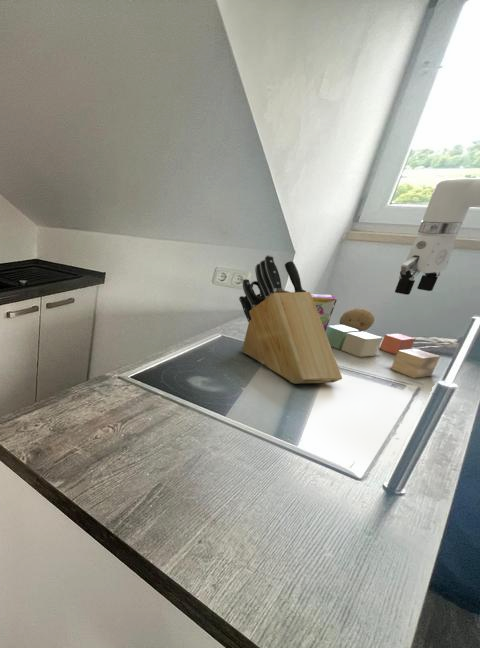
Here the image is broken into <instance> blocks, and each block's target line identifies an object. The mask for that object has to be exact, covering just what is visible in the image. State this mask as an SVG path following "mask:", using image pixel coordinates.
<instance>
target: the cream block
mask: <svg viewBox="0 0 480 648" xmlns="http://www.w3.org/2000/svg"><path fill="white" fill-rule="evenodd" d="M382 341H383V337H382V336H378V335H375V334H373V333H369V332H367V331H364V332H363V331H362V332H352V333H347V335H346V338H345V341H344V344H343V346H342V348H341V349H340V350H341V351H344V352H345V353H347V354H351V355H353V356H356V357H359V358H364V357H373V356H376V355H377V352H378V350H379V349H380V346H381V344H382Z"/></svg>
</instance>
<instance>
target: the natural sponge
mask: <svg viewBox="0 0 480 648" xmlns="http://www.w3.org/2000/svg"><path fill="white" fill-rule="evenodd" d="M374 322H375V316H374V314H373V313H372V312H371V311H370V310H368V309H366V308H363V307H356V308H352V309H349V310H347V311H345V312H344V313H343V314H342V315H341V316H340V317H339V325H345V326H348V327H351V328H354V329H357V330H360V331H359V332H362V331H363V332H367V330H368V329H370V328H371V327H372V326H373V325H374Z"/></svg>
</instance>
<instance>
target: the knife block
mask: <svg viewBox="0 0 480 648" xmlns="http://www.w3.org/2000/svg"><path fill="white" fill-rule="evenodd" d="M277 267H278V266H277V265H276V263H275V260H274V256H273V255H269V254H268V255H267V254H266V256H264V259H262V260H261V261H260V262H259V263H257V264H256V265H255V268H254V271H255V277H256V280H254V281H252V282H251V283H250V279H249V278H244V279H243V280H242V288H243V289H242V290H243V293H244V295H245V296H243V295H241V296H239V298H238V300H239V302H240V304H241V307H242V310H243V313H244V316H245V317H246V320H247V322H248V324H247V328H246V332H245V337H244V340H243V346H242V348H241V352H242V353H244V354H245V355H247V356H249V357H250V358H252V359H254V360H256V361H257V362H259V363H260V364H263V365H265V367H267V368H268V369H270V370H271V371H273V372H275V373H276V374H278V375H280V376H281V377H282V378H285V379H286V380H287V381H289V382H290V383H292V384H296V385H297V384H331V383H336V382H338V381H340V380H342V379H343V376H342V373H341V371H340V368H339V365H338V362H337V360H336V357H335V354H334V352H333V349H332V346H330V343H329V340H328V338H327V335H326V332H325V330H324V327H323V324H322V322H321V319H320V317H319V314H318V311H317V309H316V306H315V303H314V301H313V298H312V296H311V294H312V293H311V292H310V291H307V290H304V289H303V288H302V281H301V277H300V274H299V271H298V268H297V266H296V264H295V262H294V261H293V260H292V261H291V260H290V261H287V262H285V264H284V269H285V271H286V272H287V274H288V277H289V280H290V282H291V284H292V286H293V288H294V291H288V290H285V289H284V288H283V287H282V280H281V275H280V272H279V270H278V268H277ZM254 285H255V286H257V288H258V290H259V293H258V294H256V293H255V290H254Z"/></svg>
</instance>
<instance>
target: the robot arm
mask: <svg viewBox="0 0 480 648" xmlns="http://www.w3.org/2000/svg"><path fill="white" fill-rule="evenodd" d="M470 208H479V209H480V175H479V176H477V177H453V178H452V177H451V178H444V179H441V180H439V181H438V182H437V183H436V184H435V186H434V189H433V192H432V194H431V196H430V199H429V202H428V204H427V206H426V209H425V212H424V215H423V218H422V220H421V223H420V225H419V228H418V230H417V232H416V234H417V237H416V238H415V240H414V242H413V244H412V246H411V248H410V250H409V252H408V255H407V257H406V259H405V262H403V263H402V264H401V266H400V272H399V277H398V282H397V285H396V287H395V289H394V293H396V294H401V295H407V296H408V295H410V294H411V292H412V289H413V287H414V284H415V282H416V277H418V275H419V274H420V273H421V274H422V275H421V277H420V279H419V283H418V285H417V287H416V288H417V290H421V291H427V292H431V291H432V292H433V290H434V287H435V285H436V283H437V280H438V279H439V277H440V275H441V272H443V271H445V270H446V269H447V266H448V264H449V261H450V259H451V256H452V253H453V250H454V248H455V243H456V239H457V236H458V235H459V232H460V230H461V228H462V226H463V222H464V220H465V218H466V216H467V214H468V212H469V209H470Z"/></svg>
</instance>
